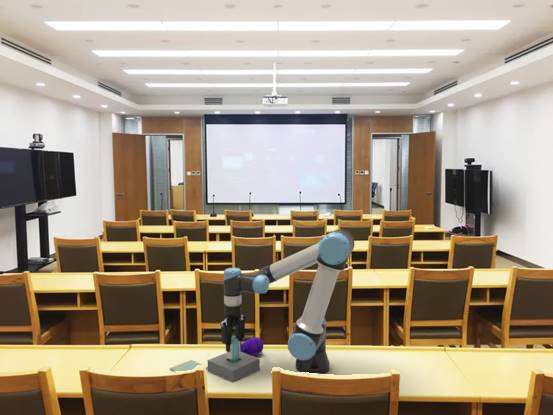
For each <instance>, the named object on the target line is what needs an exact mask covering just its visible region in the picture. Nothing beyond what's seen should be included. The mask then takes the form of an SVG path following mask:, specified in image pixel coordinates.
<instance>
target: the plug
mask: <svg viewBox="0 0 553 415" xmlns="http://www.w3.org/2000/svg"><path fill="white" fill-rule="evenodd" d="M231 344H232V354H233V359H229V361H230V362H233V363H234V362H237V361H238V338H236V336H233V337H232V338H231Z"/></svg>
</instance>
